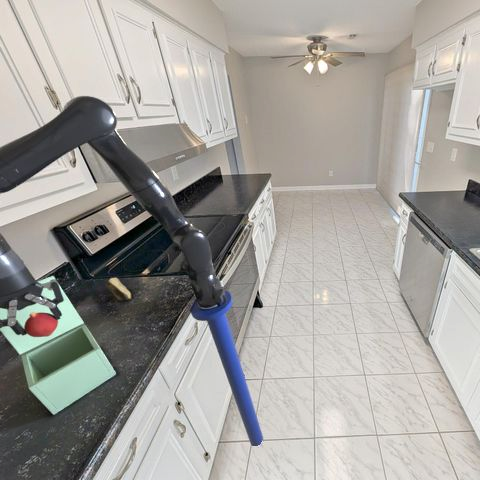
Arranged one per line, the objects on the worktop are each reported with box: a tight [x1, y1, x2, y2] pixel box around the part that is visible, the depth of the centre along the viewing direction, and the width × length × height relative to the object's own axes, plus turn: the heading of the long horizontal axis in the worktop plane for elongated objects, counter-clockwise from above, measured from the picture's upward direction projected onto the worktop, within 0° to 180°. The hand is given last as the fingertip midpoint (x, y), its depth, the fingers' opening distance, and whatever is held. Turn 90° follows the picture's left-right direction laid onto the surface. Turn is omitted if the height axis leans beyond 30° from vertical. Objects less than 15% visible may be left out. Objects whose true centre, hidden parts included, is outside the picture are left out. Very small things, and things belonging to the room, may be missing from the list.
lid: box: [0, 275, 85, 356], centre depth 71 cm, size 17×14×1 cm
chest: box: [20, 323, 117, 416], centre depth 72 cm, size 16×14×11 cm
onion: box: [24, 312, 58, 337], centre depth 65 cm, size 6×6×8 cm
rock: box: [104, 276, 132, 301], centre depth 109 cm, size 11×9×10 cm
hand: (42, 325), depth 66 cm, fingers closed on onion, 6 cm apart
